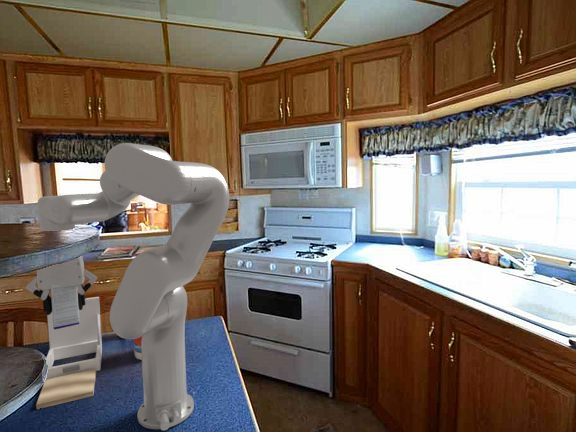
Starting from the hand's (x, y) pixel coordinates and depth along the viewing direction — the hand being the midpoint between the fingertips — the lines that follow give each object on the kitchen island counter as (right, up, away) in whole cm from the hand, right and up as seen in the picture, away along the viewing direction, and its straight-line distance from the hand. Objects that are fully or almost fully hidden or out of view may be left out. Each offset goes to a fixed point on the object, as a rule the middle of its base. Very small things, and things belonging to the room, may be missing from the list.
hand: (65, 310), depth 91 cm
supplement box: (0, -4, 0) cm, 4 cm away
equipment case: (-5, -20, +13) cm, 24 cm away
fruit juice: (+15, -19, +19) cm, 31 cm away
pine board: (+1, -21, 0) cm, 21 cm away
